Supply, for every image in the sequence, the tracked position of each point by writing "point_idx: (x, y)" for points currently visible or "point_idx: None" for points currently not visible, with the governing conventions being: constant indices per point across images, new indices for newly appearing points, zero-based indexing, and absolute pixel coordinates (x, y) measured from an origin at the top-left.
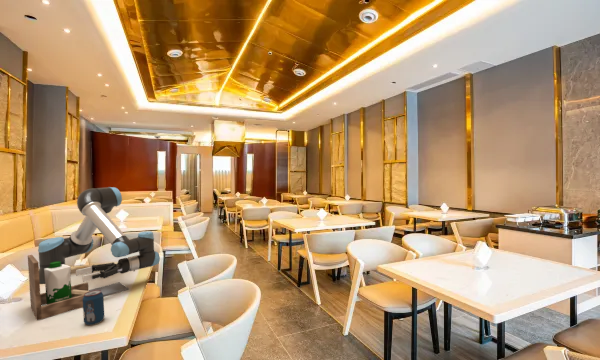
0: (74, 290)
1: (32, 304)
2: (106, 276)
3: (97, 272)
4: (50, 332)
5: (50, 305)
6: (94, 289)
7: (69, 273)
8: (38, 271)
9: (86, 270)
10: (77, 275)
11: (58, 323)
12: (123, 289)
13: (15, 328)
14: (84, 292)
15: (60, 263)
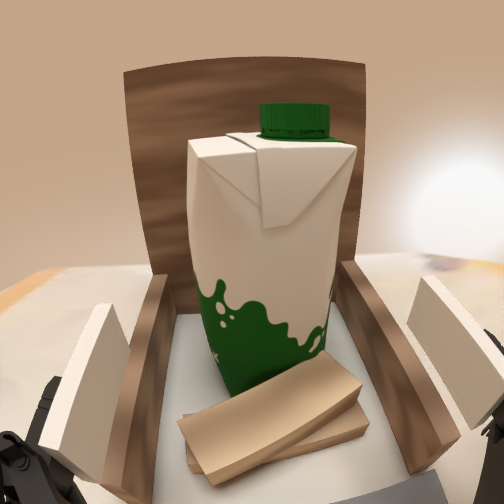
0: (337, 386)
1: None
2: (7, 502)
3: (61, 430)
4: (38, 317)
5: (146, 295)
6: (425, 500)
7: (212, 220)
8: (127, 115)
9: (463, 363)
10: (410, 328)
11: (68, 338)
12: None
13: None
14: (223, 434)
15: (282, 115)
